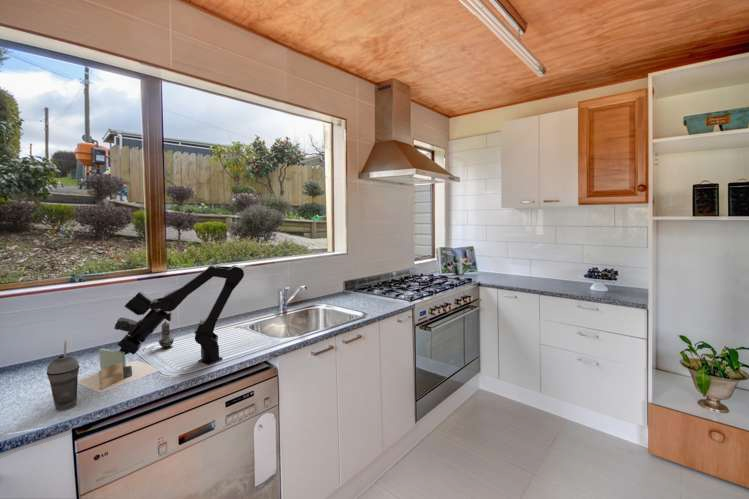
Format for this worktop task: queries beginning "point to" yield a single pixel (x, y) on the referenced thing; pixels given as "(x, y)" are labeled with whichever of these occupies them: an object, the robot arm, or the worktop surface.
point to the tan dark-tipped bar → (113, 374)
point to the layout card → (137, 372)
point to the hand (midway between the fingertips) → (116, 357)
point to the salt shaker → (166, 337)
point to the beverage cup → (63, 380)
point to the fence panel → (111, 358)
